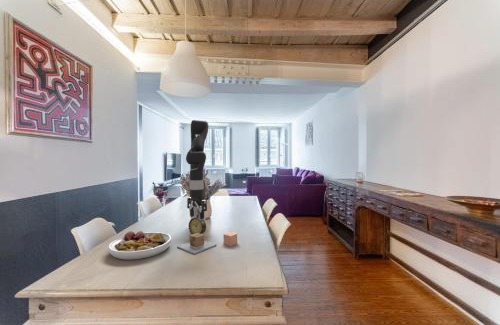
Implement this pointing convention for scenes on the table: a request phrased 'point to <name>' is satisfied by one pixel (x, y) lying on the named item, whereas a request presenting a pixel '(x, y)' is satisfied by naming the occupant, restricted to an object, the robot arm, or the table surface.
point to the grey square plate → (198, 249)
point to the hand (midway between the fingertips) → (196, 217)
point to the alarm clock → (197, 225)
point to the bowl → (139, 245)
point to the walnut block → (196, 240)
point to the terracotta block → (230, 238)
